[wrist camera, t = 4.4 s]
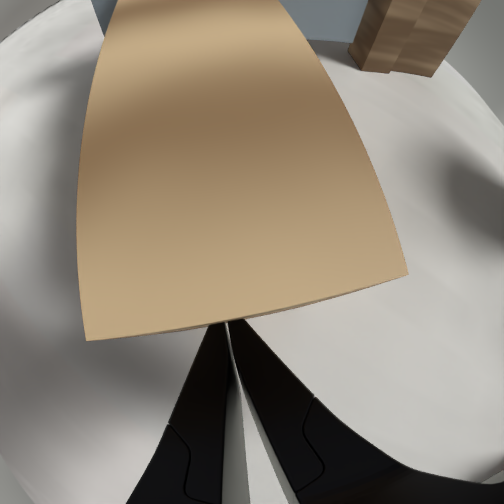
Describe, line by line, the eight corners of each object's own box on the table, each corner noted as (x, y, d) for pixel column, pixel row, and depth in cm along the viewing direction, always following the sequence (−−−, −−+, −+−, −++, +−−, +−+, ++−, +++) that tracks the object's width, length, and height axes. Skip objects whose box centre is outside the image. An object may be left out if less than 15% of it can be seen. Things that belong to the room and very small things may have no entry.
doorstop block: (300, 306, 15) (408, 274, 5) (185, 330, 14) (86, 341, 4) (235, 65, 19) (237, -47, 9) (158, 78, 18) (131, -30, 8)
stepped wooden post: (433, 80, 20) (491, -7, 7) (361, 70, 19) (412, -51, 7) (419, 61, 21) (468, -25, 8) (347, 50, 20) (387, -63, 7)
